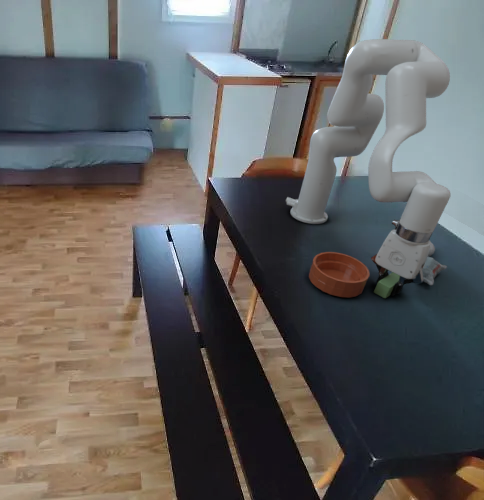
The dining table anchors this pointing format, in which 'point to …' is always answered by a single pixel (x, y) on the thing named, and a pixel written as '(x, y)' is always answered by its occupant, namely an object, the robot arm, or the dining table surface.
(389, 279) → the bar
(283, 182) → the dining table surface
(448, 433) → the dining table surface
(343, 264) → the bowl
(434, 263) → the packaged food
